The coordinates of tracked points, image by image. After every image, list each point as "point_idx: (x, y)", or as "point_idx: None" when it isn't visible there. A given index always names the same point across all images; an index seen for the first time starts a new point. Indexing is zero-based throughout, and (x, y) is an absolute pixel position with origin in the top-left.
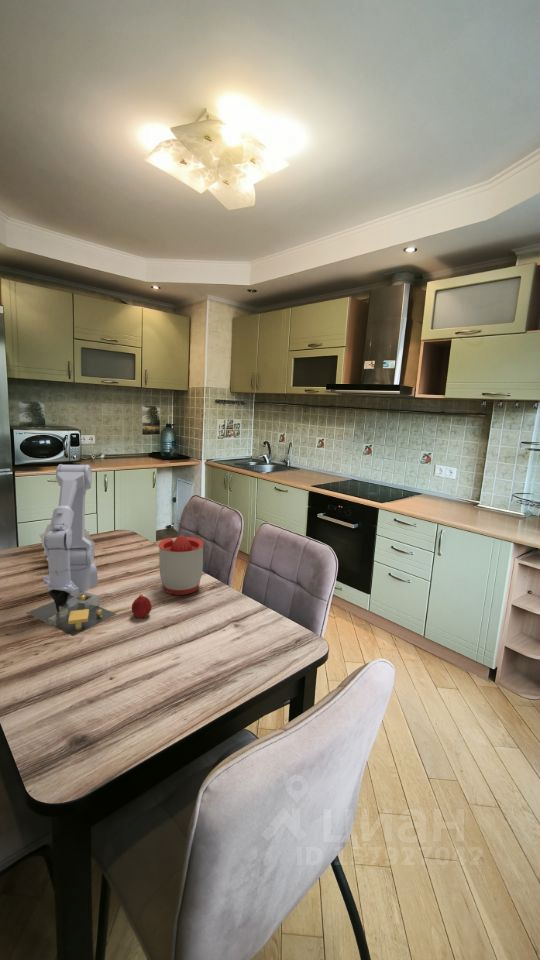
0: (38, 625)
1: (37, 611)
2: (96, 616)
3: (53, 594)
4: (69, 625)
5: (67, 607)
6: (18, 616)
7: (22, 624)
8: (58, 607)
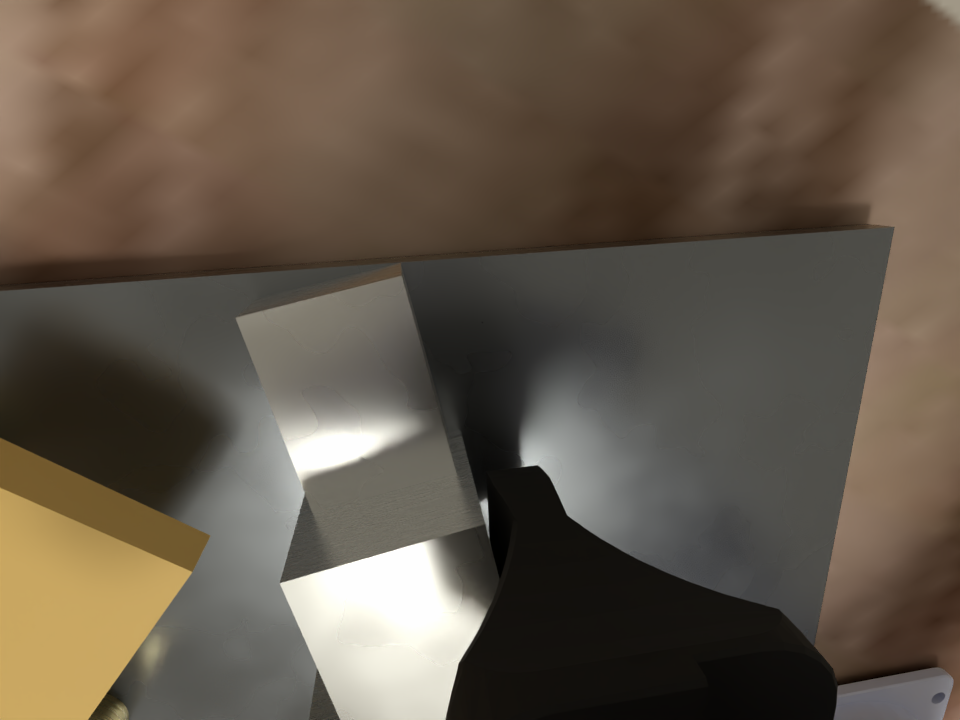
0: (524, 189)
1: (798, 332)
2: (100, 704)
3: (563, 669)
4: (134, 414)
5: (328, 591)
6: (918, 151)
7: (713, 71)
8: (506, 507)
